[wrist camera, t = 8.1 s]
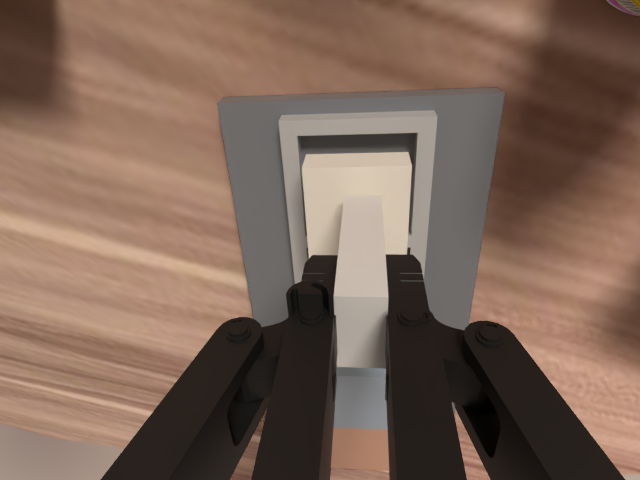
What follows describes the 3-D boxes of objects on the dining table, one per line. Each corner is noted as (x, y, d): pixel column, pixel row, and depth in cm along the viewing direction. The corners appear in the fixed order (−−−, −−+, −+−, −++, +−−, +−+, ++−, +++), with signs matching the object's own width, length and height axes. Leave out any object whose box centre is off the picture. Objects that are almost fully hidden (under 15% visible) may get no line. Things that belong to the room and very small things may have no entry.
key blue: (324, 404, 28) (322, 427, 26) (320, 353, 25) (318, 375, 24) (395, 407, 27) (396, 429, 26) (397, 355, 25) (399, 377, 24)
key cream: (312, 240, 21) (308, 258, 20) (306, 154, 19) (301, 167, 18) (403, 240, 21) (406, 258, 20) (408, 151, 19) (411, 165, 17)
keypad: (277, 432, 35) (273, 458, 33) (224, 97, 22) (210, 108, 20) (445, 439, 34) (450, 466, 32) (497, 87, 20) (511, 98, 18)
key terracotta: (329, 446, 32) (327, 467, 30) (326, 405, 29) (324, 426, 28) (390, 449, 31) (392, 470, 30) (392, 408, 29) (394, 429, 28)
